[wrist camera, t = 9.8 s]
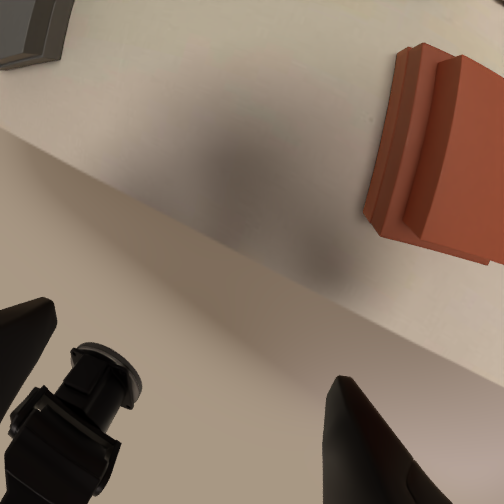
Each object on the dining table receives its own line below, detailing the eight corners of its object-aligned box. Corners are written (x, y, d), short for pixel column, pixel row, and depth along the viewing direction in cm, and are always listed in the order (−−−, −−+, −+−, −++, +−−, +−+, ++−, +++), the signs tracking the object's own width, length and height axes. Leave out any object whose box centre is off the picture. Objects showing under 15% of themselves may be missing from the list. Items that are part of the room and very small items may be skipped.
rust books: (460, 240, 17) (489, 267, 14) (362, 212, 18) (378, 236, 14) (496, 99, 13) (533, 99, 10) (396, 52, 14) (422, 37, 10)
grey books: (60, 59, 16) (22, 55, 12) (6, 70, 16) (-29, 71, 12) (88, -43, 12) (58, -59, 8) (29, -22, 12) (-2, -30, 9)
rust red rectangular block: (483, 246, 13) (507, 266, 11) (401, 221, 14) (419, 240, 11) (519, 106, 10) (548, 109, 8) (437, 62, 10) (462, 53, 8)
